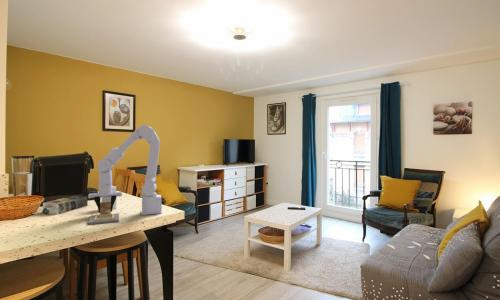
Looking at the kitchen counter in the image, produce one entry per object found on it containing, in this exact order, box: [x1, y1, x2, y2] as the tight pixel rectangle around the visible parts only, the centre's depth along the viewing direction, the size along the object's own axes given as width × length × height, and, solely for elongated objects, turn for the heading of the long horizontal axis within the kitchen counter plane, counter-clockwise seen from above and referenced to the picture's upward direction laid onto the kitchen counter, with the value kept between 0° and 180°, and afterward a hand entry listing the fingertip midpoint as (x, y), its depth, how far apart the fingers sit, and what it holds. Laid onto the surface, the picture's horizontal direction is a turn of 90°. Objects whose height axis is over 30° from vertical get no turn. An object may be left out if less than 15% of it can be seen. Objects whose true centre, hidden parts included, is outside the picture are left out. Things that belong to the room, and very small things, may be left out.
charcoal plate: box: [87, 212, 120, 226], centre depth 130 cm, size 12×12×2 cm
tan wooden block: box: [99, 201, 112, 215], centre depth 139 cm, size 4×4×6 cm
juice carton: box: [41, 194, 89, 215], centre depth 148 cm, size 20×10×6 cm, turn 168°
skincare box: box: [101, 185, 117, 211], centre depth 150 cm, size 6×4×12 cm
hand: (105, 211), depth 139 cm, fingers open, 4 cm apart
